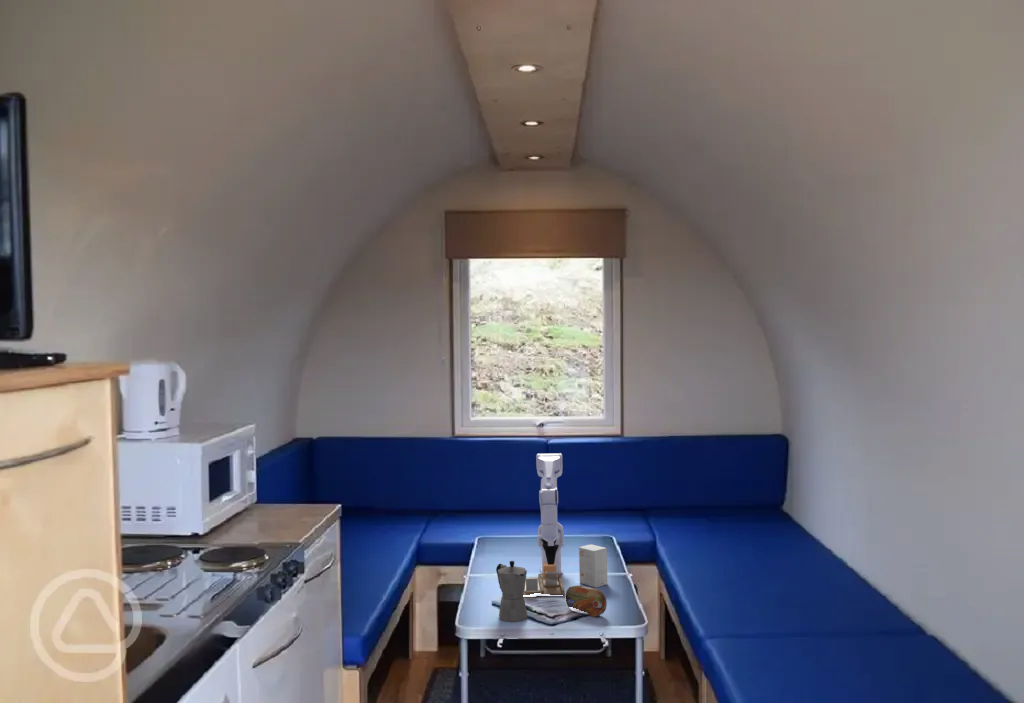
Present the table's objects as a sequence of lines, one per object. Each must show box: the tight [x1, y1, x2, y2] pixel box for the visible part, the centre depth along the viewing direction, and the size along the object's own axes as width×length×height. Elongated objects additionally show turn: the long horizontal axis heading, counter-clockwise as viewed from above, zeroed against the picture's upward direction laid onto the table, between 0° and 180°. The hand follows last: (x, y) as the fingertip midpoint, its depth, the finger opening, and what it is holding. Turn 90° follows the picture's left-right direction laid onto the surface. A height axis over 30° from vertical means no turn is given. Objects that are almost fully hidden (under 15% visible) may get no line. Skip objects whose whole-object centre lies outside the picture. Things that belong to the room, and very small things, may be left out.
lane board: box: [523, 573, 566, 597], centre depth 307 cm, size 20×15×2 cm
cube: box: [543, 562, 556, 579], centre depth 315 cm, size 4×4×4 cm
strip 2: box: [540, 572, 559, 587], centre depth 313 cm, size 15×5×5 cm, turn 1°
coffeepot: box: [495, 560, 528, 623], centre depth 278 cm, size 15×9×18 cm, turn 33°
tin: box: [564, 585, 608, 618], centre depth 280 cm, size 15×3×8 cm, turn 47°
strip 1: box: [524, 576, 540, 593], centre depth 307 cm, size 15×5×5 cm, turn 1°
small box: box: [578, 543, 608, 589], centre depth 311 cm, size 8×6×13 cm
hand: (550, 561), depth 308 cm, fingers open, 7 cm apart
